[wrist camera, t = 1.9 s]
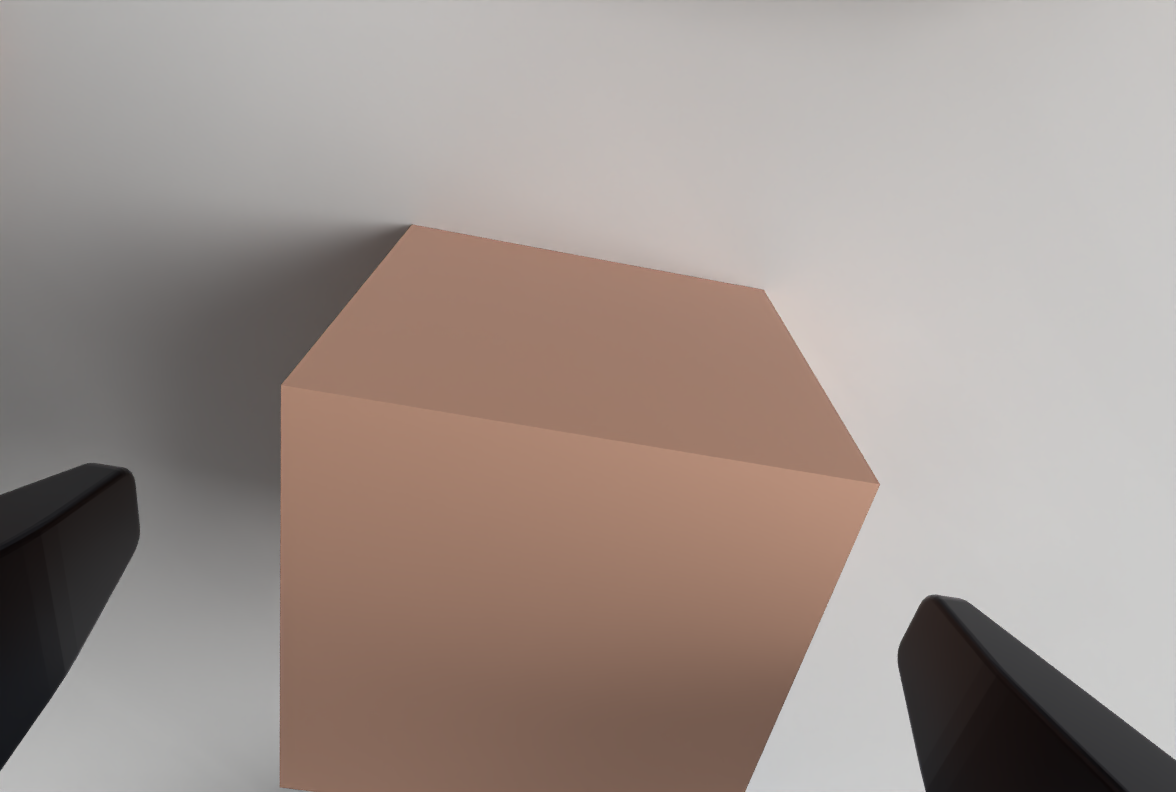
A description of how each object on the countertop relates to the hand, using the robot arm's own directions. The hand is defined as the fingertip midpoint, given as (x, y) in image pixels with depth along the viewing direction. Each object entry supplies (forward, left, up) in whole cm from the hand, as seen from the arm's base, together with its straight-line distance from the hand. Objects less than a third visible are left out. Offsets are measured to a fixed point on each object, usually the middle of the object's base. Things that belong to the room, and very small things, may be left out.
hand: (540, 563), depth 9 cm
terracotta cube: (0, 0, -4) cm, 4 cm away
